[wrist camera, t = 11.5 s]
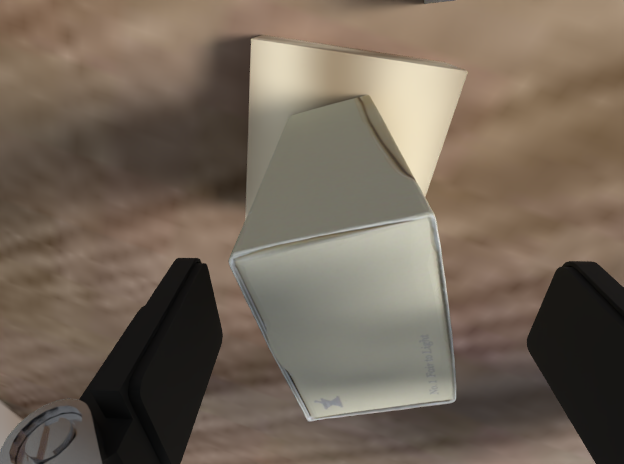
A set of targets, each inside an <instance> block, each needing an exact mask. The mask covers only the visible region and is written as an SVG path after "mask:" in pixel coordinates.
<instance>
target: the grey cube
mask: <svg viewBox="0 0 624 464" xmlns="http://www.w3.org/2000/svg"><path fill="white" fill-rule="evenodd" d="M445 1H454V0H424V4H427V3H436V2H445Z"/></svg>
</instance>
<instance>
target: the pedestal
mask: <svg viewBox="0 0 624 464" xmlns="http://www.w3.org/2000/svg"><path fill="white" fill-rule="evenodd" d="M467 73H468V71H466V70H463V69H461V68H458V67H456V66H453V65H451V64H448V63H446V62H440V61H433V60H426V59H420V58H413V57H407V56H400V55H393V54H387V53H380V52H373V51H367V50H360V49H354V48H347V47H340V46H334V45H327V44H320V43H314V42H307V41H301V40H294V39H287V38H281V37H274V36H267V35H261V36H258V37H255V38H252V39H251V59H250V90H249V121H248V152H247V183H246V214H245V220H246V218H247V215H248V213H249V211H250V208H251V206H252V204H253V201H254V199H255V196H256V194H257V191H258V189H259V187H260V184H261V182H262V179H263V177H264V175H265V172H266V170H267V168H268V165H269V163H270V160H271V158H272V156H273V153H274V151H275V149H276V146H277V144H278V141H279V139H280V136H281V134H282V132H283V129H284V127H285V125H286V122H287V120H288V118H289V117H290V116H292V115H295V114H299V113H302V112H306V111H309V110H312V109H316V108H320V107H323V106H327V105H331V104H334V103H338V102H342V101H346V100H350V99H354V98H358V97H362V96H365V95H369V96H370V97H371V99H372V100H373V102H374V104H375V106H376V107H377V109H378V111H379V113H380V115H381V116H382V118H383V120H384V122H385V124H386V126H387V127H388V129H389V131H390V133H391V135H392V137H393V139H394V141H395V143H396V144H397V146H398V148H399V150H400V152H401V154H402V155H403V157H404V159H405V161H406V163H407V165H408V167H409V168H410V170H411V172H412V174H413V176H414V178H415V180H416V182H417V184H418V185H419V187H420V188H421V190H422V192H423V194H424V196H426V193H427V190H428V187H429V184H430V181H431V178H432V176H433V173H434V170H435V167H436V164H437V161H438V158H439V155H440V152H441V149H442V146H443V143H444V140H445V137H446V134H447V131H448V128H449V126H450V123H451V120H452V117H453V114H454V111H455V108H456V105H457V102H458V99H459V96H460V93H461V90H462V87H463V84H464V81H465V79H466V76H467Z"/></svg>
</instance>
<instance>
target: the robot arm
mask: <svg viewBox="0 0 624 464" xmlns="http://www.w3.org/2000/svg"><path fill="white" fill-rule="evenodd" d="M222 337H223V334H222V328H221V324H220V319H219V315H218V310H217V306H216V301H215V297H214V293H213V288H212V284H211V279H210V275H209V270H208V267H207V265H206V264H205V263H201V261H200V259H198V258H177V259H176V260H175V261H174V262H173V264H172V266H171V267H170V269H169V270H168V272H167V273H166V275H165V276H164V278H163V279H162V281H161V282H160V284H159V285H158V287H157V288H156V290H155V291H154V293H153V294H152V296H151V297H150V299H149V300H148V302H147V304H146V305H145V306H144V307H142V308H141V309H140V310H139V311H138V312H137V314H136V315H135V317H134V318H133V320H132V321H131V323H130V324H129V326H128V327H127V329H126V330H125V332H124V333H123V335H122V336H121V338H120V339H119V341H118V342H117V344H116V345H115V347H114V348H113V350H112V351H111V353H110V354H109V356H108V357H107V359H106V360H105V362H104V363H103V365H102V366H101V368H100V369H99V371H98V372H97V374H96V375H95V377H94V378H93V380H92V381H91V383H90V384H89V386H88V387H87V389H86V390H85V392H84V393H83V395H82V396H81V398H80V399H79V400H78V399H70V398H69V399H63V400H57V401H55V402H52V403H50V404H47V405H45V406H43V407H41V408H40V409H38V410H36V411H35V412H33V413H31V414H30V415H29V416H27V417H26V418H25V419H24V420H23V421H21V422H20V423H19V424H18V425H17V426H16V427H15V429H14V430H13V431H12V432H11V433H10V434H9V436H8V437H7V439H6V441H5V442H4V444H3V446H2V448H1V452H0V464H180V463H181V460H182V458H183V455H184V452H185V449H186V446H187V443H188V440H189V437H190V434H191V431H192V429H193V426H194V423H195V420H196V417H197V414H198V411H199V408H200V405H201V402H202V399H203V396H204V394H205V391H206V388H207V385H208V382H209V379H210V376H211V373H212V370H213V367H214V364H215V362H216V359H217V356H218V353H219V350H220V347H221V344H222ZM527 347H528V350H529V352H530V354H531V356H532V357H533V359H534V361H535V362H536V364H537V366H538V367H539V369H540V371H541V372H542V374H543V376H544V377H545V379H546V381H547V382H548V384H549V386H550V387H551V389H552V391H553V393H554V394H555V396H556V398H557V399H558V401H559V403H560V404H561V406H562V408H563V409H564V411H565V413H566V414H567V416H568V418H569V419H570V421H571V423H572V424H573V426H574V428H575V429H576V431H577V433H578V434H579V436H580V438H581V439H582V441H583V443H584V445H585V446H586V448H587V450H588V451H589V453H590V455H591V456H592V458H593V460H594V461H595V463H596V464H624V287H622V286H621V285H620V284H619V283H618V282H617V281H616V280H615V279H614V278H613V277H611V276H610V275H609V274H608V273H607V272H606V271H605V270H604V269H603V268H602V267H601V266H599V265H598V264H597V263H595V262H582V261H569V262H566V263H565V264H564V265H563V266H562V267H559V268H558V269H557V270H556V272H555V274H554V277H553V279H552V281H551V284H550V286H549V288H548V291H547V293H546V295H545V298H544V300H543V302H542V305H541V307H540V309H539V312H538V314H537V316H536V319H535V321H534V323H533V326H532V328H531V330H530V333H529V335H528V338H527Z"/></svg>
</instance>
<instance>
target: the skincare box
mask: <svg viewBox="0 0 624 464" xmlns="http://www.w3.org/2000/svg"><path fill="white" fill-rule="evenodd" d="M229 265H230V268H231V270H232V272H233V274H234V276H235V278H236V280H237V282H238V284H239V286H240V288H241V291H242V293H243V295H244V297H245V299H246V302H247V303H248V305H249V307H250V309H251V311H252V314H253V316H254V318H255V320H256V322H257V324H258V326H259V328H260V330H261V332H262V334H263V336H264V338H265V341H266V343H267V345H268V347H269V349H270V351H271V353H272V355H273V357H274V358H275V360H276V362H277V364H278V366H279V368H280V369H281V371H282V373H283V375H284V377H285V379H286V381H287V383H288V384H289V386H290V388H291V390H292V392H293V394H294V396H295V398H296V400H297V402H298V404H299V405H300V407H301V409H302V411H303V413H304V415H305V417H306V419H307V420H308V421H315V420H321V419H327V418H337V417H345V416H354V415H361V414H368V413H378V412H385V411H393V410H403V409H411V408H416V407H425V406H433V405H441V404H449V403H453V402H455V400H456V372H455V359H454V349H453V338H452V329H451V321H450V313H449V304H448V296H447V289H446V280H445V274H444V267H443V261H442V253H441V244H440V240H439V234H438V229H437V222H436V218H435V214H434V213H433V211H432V210H431V208H430V206H429V204H428V202H427V200H426V198H425V196H424V194H423V192H422V190H421V188H420V187H419V185H418V184H417V182H416V180H415V178H414V176H413V174H412V172H411V170H410V168H409V167H408V165H407V163H406V161H405V159H404V157H403V155H402V154H401V152H400V150H399V148H398V146H397V144H396V143H395V141H394V139H393V137H392V135H391V133H390V131H389V129H388V127H387V126H386V124H385V122H384V120H383V118H382V116H381V115H380V113H379V111H378V109H377V107H376V106H375V104H374V102H373V100H372V99H371V97H370V96H369V95H365V96H362V97H358V98H354V99H350V100H346V101H342V102H338V103H334V104H331V105H327V106H323V107H320V108H316V109H312V110H309V111H306V112H302V113H299V114H295V115H292V116H290V117H289V118H288V120H287V122H286V125H285V127H284V129H283V132H282V134H281V136H280V139H279V141H278V144H277V146H276V149H275V151H274V153H273V156H272V158H271V160H270V163H269V165H268V168H267V170H266V172H265V175H264V177H263V179H262V182H261V184H260V187H259V189H258V191H257V194H256V196H255V199H254V201H253V204H252V206H251V208H250V211H249V213H248V215H247V218H246V220H245V223H244V225H243V228H242V230H241V232H240V234H239V237H238V239H237V241H236V244H235V246H234V248H233V251H232V253H231V256H230V258H229Z"/></svg>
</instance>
